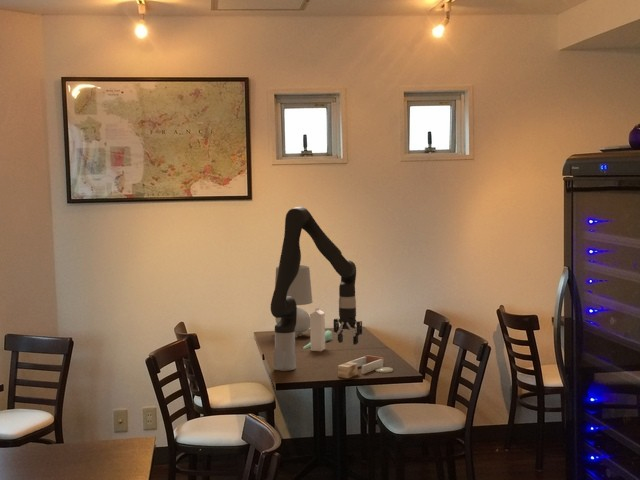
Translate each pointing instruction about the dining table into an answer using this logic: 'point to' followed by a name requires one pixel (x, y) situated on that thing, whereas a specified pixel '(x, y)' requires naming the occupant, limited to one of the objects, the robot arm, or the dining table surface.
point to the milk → (317, 330)
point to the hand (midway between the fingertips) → (347, 343)
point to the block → (347, 370)
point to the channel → (369, 363)
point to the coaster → (384, 369)
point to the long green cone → (327, 338)
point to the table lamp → (300, 298)
